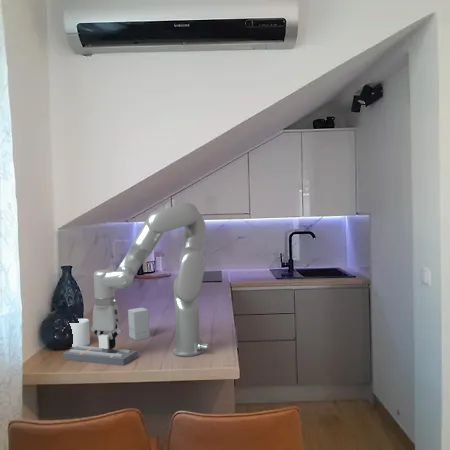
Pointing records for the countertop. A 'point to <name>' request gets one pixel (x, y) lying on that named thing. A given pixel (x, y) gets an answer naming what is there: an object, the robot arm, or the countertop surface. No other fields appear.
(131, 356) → the fader console
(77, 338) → the mug
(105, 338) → the cap
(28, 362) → the countertop surface
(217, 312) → the countertop surface
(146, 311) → the supplement box
